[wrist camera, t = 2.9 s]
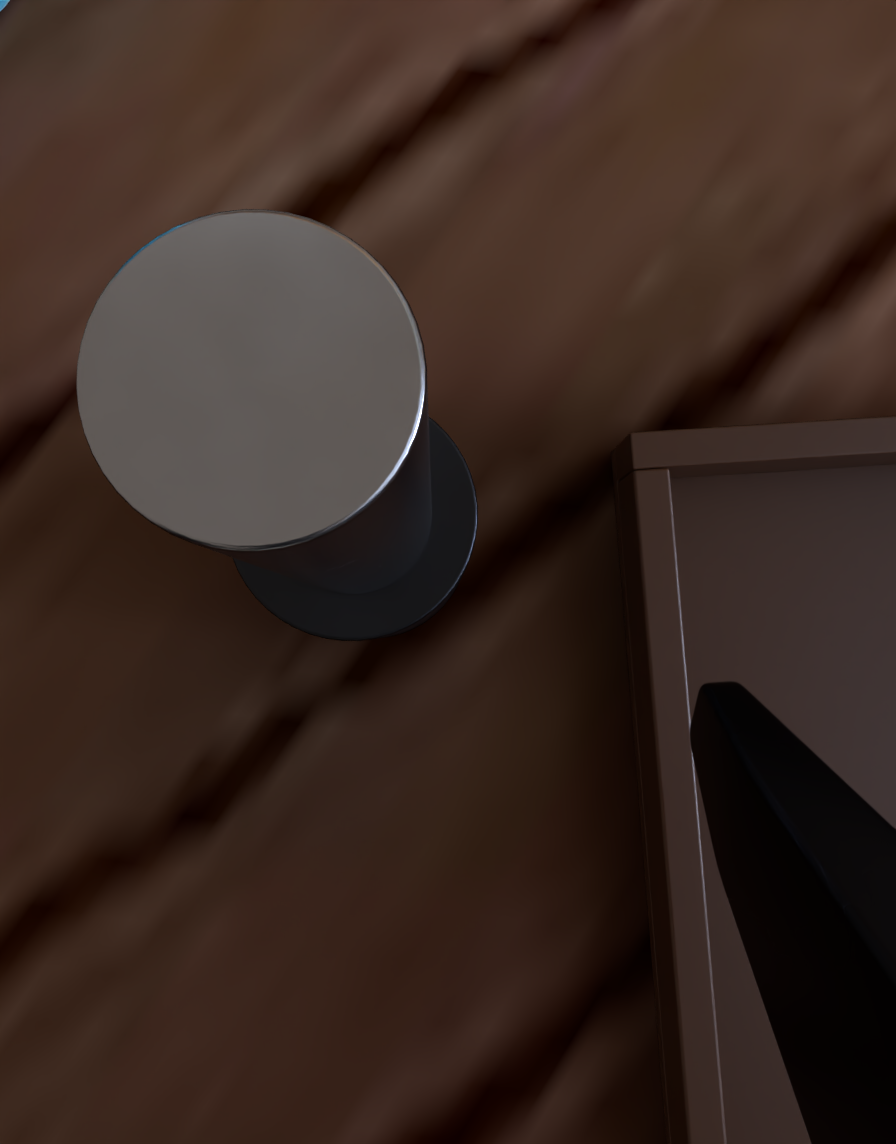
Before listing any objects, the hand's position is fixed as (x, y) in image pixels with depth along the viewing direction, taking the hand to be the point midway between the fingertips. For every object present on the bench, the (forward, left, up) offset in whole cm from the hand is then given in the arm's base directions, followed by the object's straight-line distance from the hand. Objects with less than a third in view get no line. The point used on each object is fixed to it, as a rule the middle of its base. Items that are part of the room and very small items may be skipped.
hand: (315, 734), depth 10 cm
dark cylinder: (+3, 0, -10) cm, 10 cm away
